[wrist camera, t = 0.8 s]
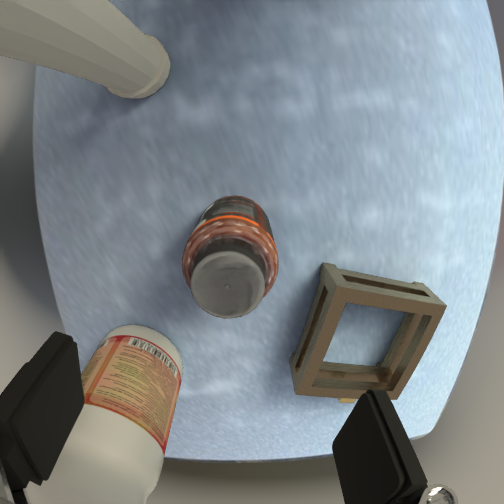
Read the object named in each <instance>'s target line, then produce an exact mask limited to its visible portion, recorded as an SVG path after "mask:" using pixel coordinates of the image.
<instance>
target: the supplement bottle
mask: <svg viewBox="0 0 504 504" xmlns="http://www.w3.org/2000/svg"><path fill="white" fill-rule="evenodd" d="M182 268H183V274H184V278H185V280H186V282H187V284H188V286H189V288H190V289H191V292H192V295H193V298H194V299H195V301H196V302H197V304H198V305H199V306H200V307H201V308H202V309H203V310H204V311H206V312H207V313H209V314H211V315H213V316H216V317H220V318H237V317H242V316H243V315H246V314H248V313H250V312H251V311H252V310H253V309H255V308H256V307H257V306H258V304H259V303H260V301H261V300H262V298H263V297H264V296H265V295H266V294H267V293H268V292H269V291H270V289H271V288H272V286H273V284H274V282H275V280H276V276H277V273H278V255H277V250H276V246H275V242H274V238H273V234H272V231H271V227H270V223H269V220H268V218H267V216H266V214H265V213H264V211H263V210H262V208H261V207H260V206H259V205H258V204H256V203H255V202H254V201H252V200H250V199H248V198H245V197H241V196H228V197H224V198H221V199H219V200H217V201H215V202H214V203H212V204H211V205H210V206H209V207H208V208H207V209H206V210H205V212H204V213H203V215H202V217H201V218H200V220H199V222H198V224H197V225H196V227H195V229H194V231H193V233H192V235H191V236H190V238H189V240H188V242H187V244H186V246H185V249H184V253H183V257H182Z"/></svg>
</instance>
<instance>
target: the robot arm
mask: <svg viewBox="0 0 504 504" xmlns="http://www.w3.org/2000/svg"><path fill="white" fill-rule="evenodd" d="M84 402H85V398H84V392H83V386H82V379H81V372H80V365H79V357H78V349H77V343H76V342H73V338H72V337H71V336H69V335H66V334H63V333H60V332H57V331H56V332H54V333H53V334H52V335H51V336H50V337H49V339H48V340H47V341H46V342H45V343H44V344H43V345H42V347H41V348H40V349H39V350H38V351H37V353H36V354H35V355H34V356H33V358H32V359H31V360H30V361H29V362H27V363H26V364H24V366H23V367H22V368H21V369H20V370H19V372H18V373H17V374H16V375H15V377H14V378H13V379H12V381H11V382H10V383H9V384H8V386H7V387H6V388H5V389H4V391H3V392H2V393H1V395H0V504H31V502H30V499H29V497H28V494H27V491H26V487H27V485H28V483H29V481H31V482H33V483H35V484H37V485H39V486H41V484H42V482H43V480H44V481H47V480H48V479H49V477H50V475H51V473H52V471H53V469H54V466H55V464H56V462H57V460H58V458H59V456H60V453H61V451H62V449H63V447H64V445H65V443H66V441H67V439H68V437H69V435H70V433H71V431H72V429H73V427H74V425H75V423H76V421H77V419H78V417H79V415H80V413H81V411H82V409H83V406H84ZM332 450H333V455H334V459H335V463H336V467H337V471H338V475H339V480H340V484H341V488H342V493H343V497H344V502H345V504H458V499H457V496H456V495H455V493H454V491H453V490H452V489H450V488H449V487H447V486H446V485H442V484H433V485H430V486H429V487H428V486H427V479H426V477H425V474H424V472H423V470H422V467H421V465H420V463H419V460H418V458H417V456H416V454H415V451H414V449H413V447H412V445H411V443H410V440H409V438H408V436H407V434H406V432H405V429H404V427H403V425H402V423H401V421H400V419H399V417H398V415H397V412H396V410H395V408H394V406H393V404H392V402H391V400H390V398H389V396H388V394H387V392H386V391H385V390H377V389H369V390H367V391H366V393H363V394H362V395H361V396H360V398H359V400H358V401H357V403H356V405H355V407H354V408H353V410H352V412H351V413H350V415H349V417H348V419H347V420H346V422H345V423H344V425H343V427H342V428H341V430H340V432H339V433H338V435H337V436H336V438H335V439H334V441H333V445H332Z"/></svg>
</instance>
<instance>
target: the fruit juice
mask: <svg viewBox="0 0 504 504" xmlns="http://www.w3.org/2000/svg"><path fill="white" fill-rule="evenodd" d="M182 377H183V363H182V359H181V356H180V354H179V352H178V350H177V349H176V347H175V346H174V345H173V343H172V342H171V341H170V340H169V339H168V338H166V337H165V336H164V335H162V334H161V333H159V332H157V331H155V330H153V329H151V328H148V327H145V326H140V325H125V326H121V327H118V328H116V329H114V330H112V331H111V332H110V333H109V334H108V335H107V336H106V337H105V338H104V339H103V340H102V342H101V344H100V345H99V347H98V348H97V350H96V351H95V353H94V355H93V356H92V358H91V359H90V361H89V363H88V364H87V366H86V367H85V369H84V371H83V372H82V374H81V379H82V386H83V392H84V398H85V402H84V406H83V409H82V411H81V413H80V415H79V417H78V419H77V421H76V423H75V425H74V427H73V429H72V431H71V433H70V435H69V437H68V439H67V441H66V443H65V445H64V447H63V449H62V451H61V453H60V456H59V458H58V460H57V462H56V464H55V466H54V469H53V471H52V473H51V475H50V477H49V479H48V480H47V481H44V480H43V482H42V484H41V486H39V485H37V484H35V483H33V482H31V481H29V483H28V485H27V487H26V491H27V494H28V497H29V499H30V502H31V504H146V500H147V497H148V495H149V494H150V493H151V492H152V491H153V490H154V488H155V486H156V484H157V482H158V479H159V476H160V472H161V469H162V465H163V460H164V454H165V450H166V445H167V441H168V436H169V432H170V428H171V423H172V419H173V415H174V410H175V406H176V402H177V398H178V394H179V389H180V385H181V381H182Z"/></svg>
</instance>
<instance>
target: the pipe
mask: <svg viewBox="0 0 504 504" xmlns="http://www.w3.org/2000/svg"><path fill="white" fill-rule="evenodd" d="M0 55H1V56H5V57H9V58H13V59H17V60H22V61H25V62H29V63H33V64H36V65H40V66H44V67H47V68H51V69H54V70H57V71H61V72H64V73H67V74H71V75H74V76H77V77H80V78H83V79H86V80H89V81H92V82H95V83H98V84H101V85H104V86H105V87H106V88H107V89H108V90H109V91H110V93H113V94H115V95H118V96H120V97H123V98H131V99H136V98H145V97H147V96H150V95H152V94H154V93H155V92H156V91H157V90H159V89H160V88H161V87H162V86H163V85H164V83H165V81H166V79H167V78H168V76H169V72H170V65H171V63H170V60H169V56H168V53H167V52H166V51H165V48H164V47H163V45H162V44H161V43H160V42H159V41H158V40H157V39H156V38H155V37H152V36H150V35H147V34H144V33H142V32H141V31H140V30H139V29H138V28H137V27H136V26H135V25H134V24H133V23H132V22H131V21H130V20H129V19H128V18H127V17H126V16H125V15H124V14H123V13H122V12H121V11H119V10H118V9H117V8H116V7H115V6H114V5H113V4H112V3H111V2H110V1H109V0H0Z"/></svg>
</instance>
